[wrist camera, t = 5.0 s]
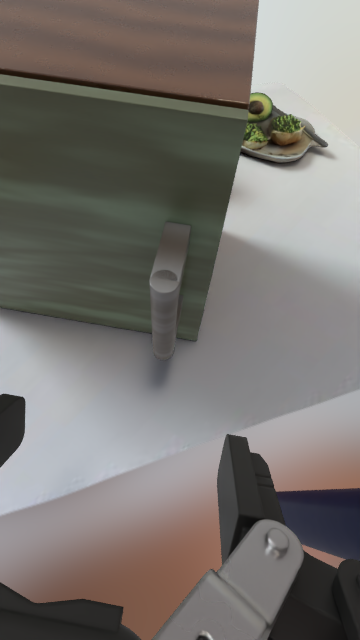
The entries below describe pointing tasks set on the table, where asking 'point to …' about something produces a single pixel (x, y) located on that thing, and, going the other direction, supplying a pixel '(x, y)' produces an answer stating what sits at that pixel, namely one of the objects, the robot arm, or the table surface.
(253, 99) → the salad plate
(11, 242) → the cupboard door
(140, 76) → the cupboard
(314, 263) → the table surface
